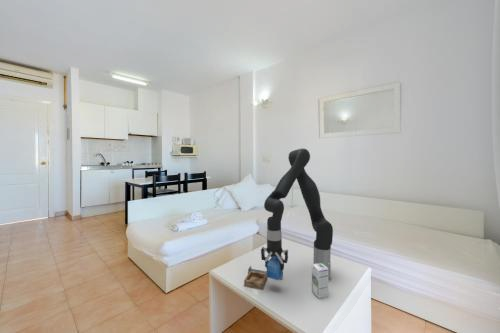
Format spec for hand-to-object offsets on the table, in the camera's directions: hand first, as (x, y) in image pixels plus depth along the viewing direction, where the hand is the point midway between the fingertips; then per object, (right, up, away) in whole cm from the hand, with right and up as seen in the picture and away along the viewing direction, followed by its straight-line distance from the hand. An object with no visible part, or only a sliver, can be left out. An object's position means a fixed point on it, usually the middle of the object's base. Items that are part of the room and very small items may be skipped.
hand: (274, 268), depth 108 cm
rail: (-4, -10, +14) cm, 17 cm away
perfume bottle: (0, -4, 0) cm, 4 cm away
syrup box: (+22, -11, -3) cm, 25 cm away
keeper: (-9, -10, +6) cm, 15 cm away
